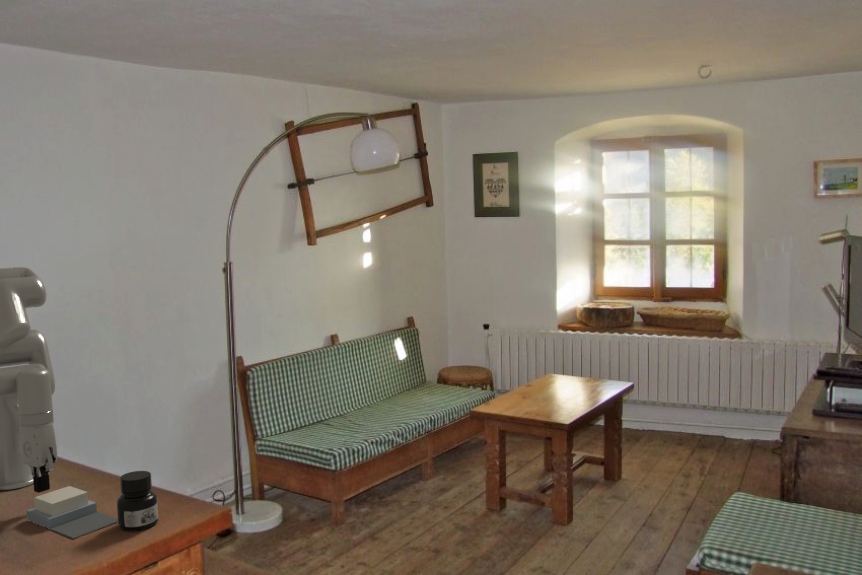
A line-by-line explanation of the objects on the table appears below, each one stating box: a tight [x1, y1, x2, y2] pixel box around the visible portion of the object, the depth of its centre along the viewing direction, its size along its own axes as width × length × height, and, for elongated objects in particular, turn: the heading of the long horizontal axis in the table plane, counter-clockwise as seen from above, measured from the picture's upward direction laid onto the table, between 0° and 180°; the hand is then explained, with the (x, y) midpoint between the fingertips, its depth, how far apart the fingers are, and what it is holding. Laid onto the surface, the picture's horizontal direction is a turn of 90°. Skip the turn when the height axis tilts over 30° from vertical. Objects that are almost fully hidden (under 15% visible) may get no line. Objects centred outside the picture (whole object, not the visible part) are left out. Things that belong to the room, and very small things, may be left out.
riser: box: [26, 499, 98, 530], centre depth 188 cm, size 10×12×2 cm
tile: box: [33, 485, 89, 516], centre depth 188 cm, size 8×9×3 cm
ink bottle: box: [116, 470, 159, 532], centre depth 182 cm, size 10×9×12 cm
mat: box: [50, 511, 118, 540], centre depth 183 cm, size 10×12×1 cm
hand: (42, 490), depth 192 cm, fingers closed
